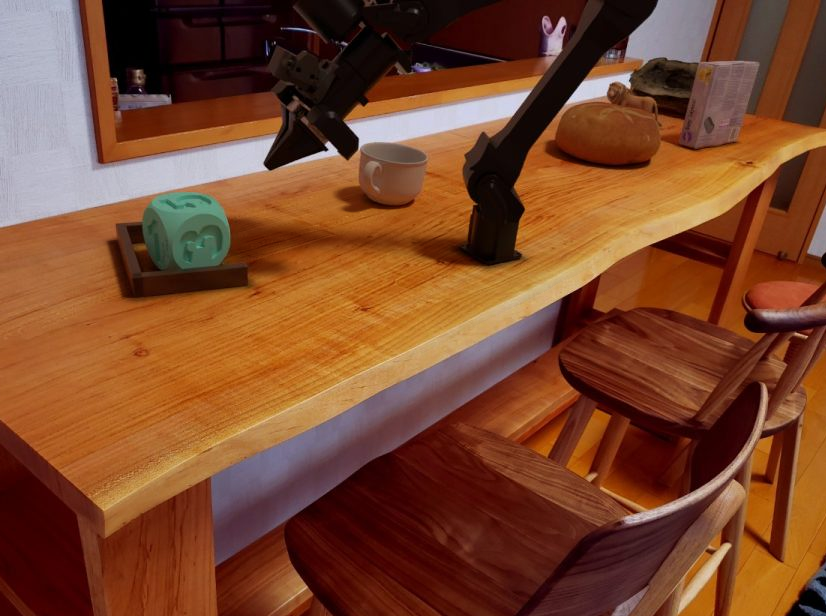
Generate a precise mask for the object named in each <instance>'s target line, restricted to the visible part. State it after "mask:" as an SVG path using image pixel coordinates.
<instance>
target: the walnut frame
mask: <svg viewBox="0 0 826 616" xmlns="http://www.w3.org/2000/svg"><path fill="white" fill-rule="evenodd" d="M114 225H115V233H116V241H117V244H118V248H119V252H120V254H121V258H122V261H123V265H124V268H125V271H126V275H127V278H128V281H129V285H130V288H131V291H132V295H133V297H134V298H143V297H153V296H159V295H160V296H162V295H169V294H171V295H172V294H178V293H179V294H180V293H186V292H187V293H189V292H198V291H208V290H218V289H226V288H227V289H228V288H235V287H244V286H249V277H248V275H249V269H248V268H249V267H248V265H247V263H246V262H240V263H228V264H220V265H217V266H206V267H196V268H186V269H175V270H165V271H162V270H157V271H155V270H154V271H144V272H142V269H141V267H140V263H139V261H138V257H137V255H136V252H135V249H134V246H133V244H141V243H145V240H144V235H143V228H142V221H132V222H131V221H129V222H118V223H115V224H114Z"/></svg>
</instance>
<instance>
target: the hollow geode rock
mask: <svg viewBox="0 0 826 616" xmlns="http://www.w3.org/2000/svg"><path fill="white" fill-rule="evenodd" d="M698 64H699V62H697V61H695V62H694V61H693V62H686V61H682V60H678V59H668V58H667V57H665V56H663V57H655V58H652V59H649V60H648V61H647V62H646V63H645V64H644V65H643V66H642V67H640V68H639V69H637V70H634V71H633V72H632V73H630V74H629V79H628V83H630V86H631V87H632V89H631V91H632V92H633V94H634V95H635V96H638V97H651V98H653V99H654V100H655V102H656V104H657V105H660V106H665V107H670V108H674V109H675V110H676V112H677V114H683V115H686V112H687V109H688V105H689V101H690V97H691V92H692V88H693V84H694V80H695V76H696V72H697V68H698Z"/></svg>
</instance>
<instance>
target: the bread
mask: <svg viewBox="0 0 826 616" xmlns="http://www.w3.org/2000/svg"><path fill="white" fill-rule="evenodd" d="M658 122H659V121H658ZM658 122H657V121H656V119H655V116H653V114H652V115H651V114H649V113H648V112H646V111H644V110H642V109H637V108H630V107H623V106H619V105H616V104H612V103H611V102H605V101H589V102H583V103H579V104H576V105H573V106H571V107H569V108H568V109H566V110H565V111H564V112H563V114H562V115H561V117H560V119H559V123H558V125H557V128H556V131H555V133H554V134H555V135H554V141H555V143H556V145H557V147H558V148H559V149H560V150H561V151H563V152H564V153H566V154H567V155H570V156H572V157H574V158H576V159H580V160H582V161H586V162H590V163H594V164H601V165H609V166H624V165H629V164H637V163H645V162H647V161H648V160H650V159H652V158H653V157H654V156H655V155H656V154H657V153H658V152H659V149H660V147H661V143H662V137H661V132H660V131H661V130H660V126H659V125H658Z"/></svg>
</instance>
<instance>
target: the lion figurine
mask: <svg viewBox="0 0 826 616" xmlns="http://www.w3.org/2000/svg"><path fill="white" fill-rule="evenodd" d="M608 85H609V86H608V89H607V92H606V97H607V100H608V102H609V103H612V104H616V105H619V106H623V107H630V108H637V109H642V110H644V111H646V112H648V113H649V114H651V115H652V116H653V111H654V118H655V119H656V121H657V122H658V125H659V128H660V127H661V128H662V127H663V125H662V123H661V122H659V118H658V117H659V115H658V114H659V112H658V111H659V110H658V104H656V102H655V100H654V99H653V98H651V97H638V96H635V95H634V94H633V92H632V89H630V88H629V87H627V86H626V84H624V83H622V82H620V81H614V82H613V81H612V83H609V84H608Z"/></svg>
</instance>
